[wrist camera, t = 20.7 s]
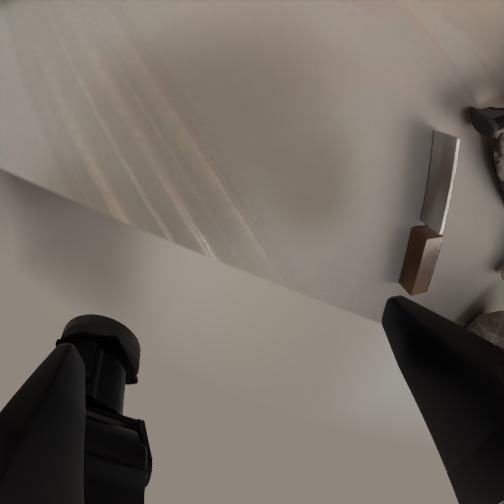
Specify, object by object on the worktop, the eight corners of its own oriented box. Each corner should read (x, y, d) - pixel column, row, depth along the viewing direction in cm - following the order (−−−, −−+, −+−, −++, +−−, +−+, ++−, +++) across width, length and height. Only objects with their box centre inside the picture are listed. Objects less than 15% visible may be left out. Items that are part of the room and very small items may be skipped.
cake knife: (415, 279, 26) (430, 295, 24) (398, 282, 25) (413, 299, 23) (444, 131, 19) (467, 139, 17) (426, 129, 18) (449, 136, 16)
